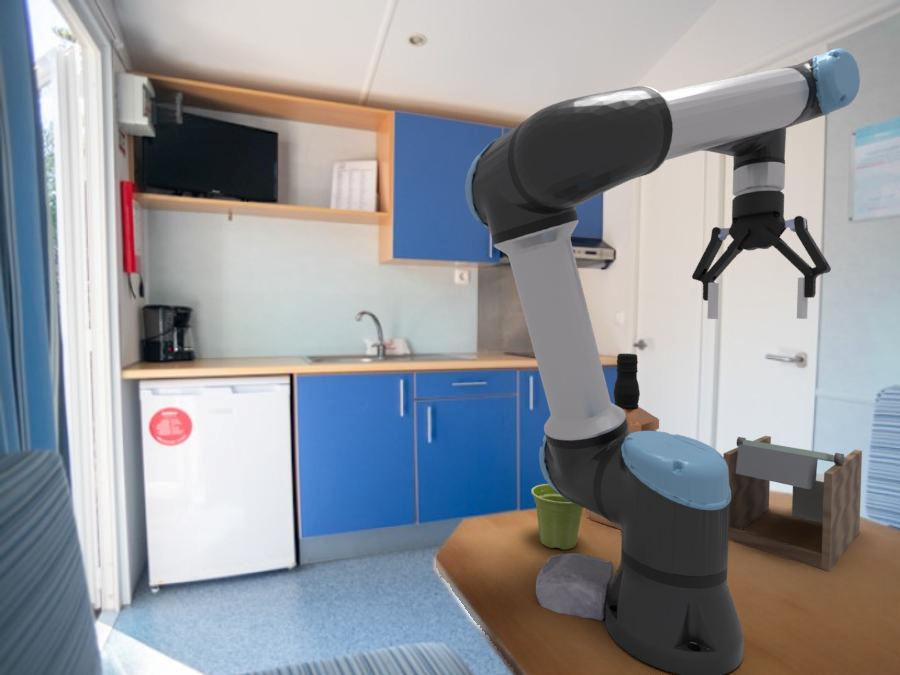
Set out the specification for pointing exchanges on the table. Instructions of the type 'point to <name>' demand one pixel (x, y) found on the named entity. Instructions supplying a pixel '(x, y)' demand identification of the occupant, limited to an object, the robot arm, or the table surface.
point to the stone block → (575, 585)
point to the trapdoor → (779, 463)
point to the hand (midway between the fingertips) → (754, 318)
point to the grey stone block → (809, 501)
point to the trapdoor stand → (837, 509)
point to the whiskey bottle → (629, 406)
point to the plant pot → (556, 518)
